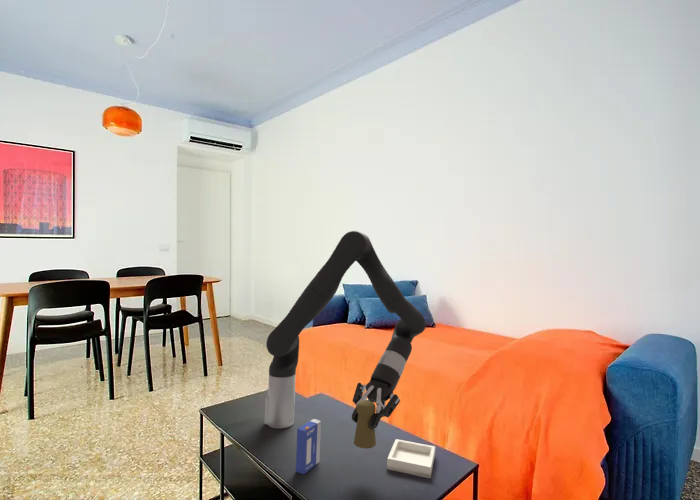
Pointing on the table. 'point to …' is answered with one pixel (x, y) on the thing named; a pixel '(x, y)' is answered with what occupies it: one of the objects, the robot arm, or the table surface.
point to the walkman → (308, 446)
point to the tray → (411, 458)
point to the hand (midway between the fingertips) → (362, 424)
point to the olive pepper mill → (365, 425)
